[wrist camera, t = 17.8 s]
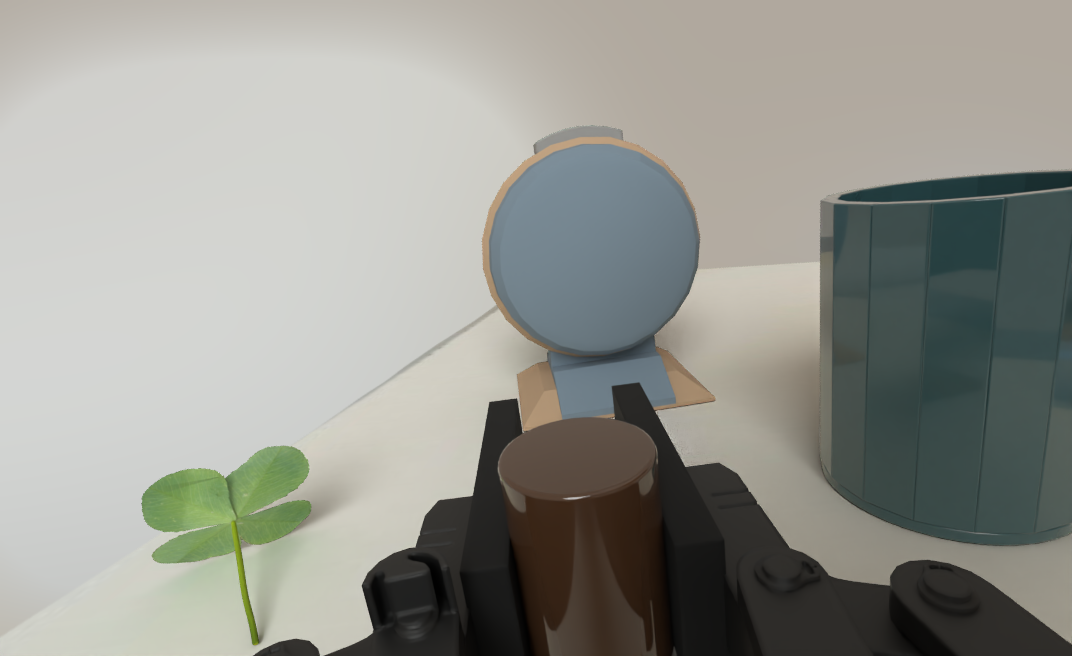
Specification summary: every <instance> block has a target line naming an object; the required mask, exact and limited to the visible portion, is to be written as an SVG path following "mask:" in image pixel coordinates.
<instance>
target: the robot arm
mask: <svg viewBox="0 0 1072 656" xmlns="http://www.w3.org/2000/svg"><path fill="white" fill-rule="evenodd" d="M612 395H613V405H614V414H615V419H616V420H620V421H624V422H627V423H630V424H633V425H635V426H637V427H639V428H640V429H642V430H644V431H645V432H646V433H647V434H648V435H649V436H650V437H651V438H652V440H653V442H654V443H655V445H656V448H657V453H658V465H659V476H660V488H661V500H662V512H663V523H664V535H665V547H666V559H667V570H668V582H669V594H670V606H671V618H672V629H673V641H674V648H675V651H676V654H677V656H730V655H731V656H1072V645H1071V644H1070V643H1069V642H1067V641H1066V640H1065V639H1063V638H1062V637H1061V636H1059V635H1058V634H1057V633H1055V632H1054V631H1053V630H1051V629H1050V628H1049V627H1047V626H1046V625H1045V624H1044V623H1042V622H1041V621H1040V620H1038V619H1037V618H1036V617H1034V616H1033V615H1032V614H1030V613H1029V612H1028V611H1026V610H1025V609H1024V608H1022V607H1021V606H1020V605H1018V604H1017V603H1016V602H1015V601H1013V600H1012V599H1011V598H1009V597H1008V596H1007V595H1005V594H1004V593H1003V592H1001V591H1000V590H999V589H997V588H996V587H995V586H993V585H992V584H991V583H989V582H988V581H986V580H984V579H983V578H981V577H979V576H978V575H976V574H974V573H973V572H971V571H968V570H965V569H963V568H960V567H957V566H954V565H952V564H949V563H943V562H937V561H931V560H918V561H908V562H906V563H904V564H901V565H899V566H897V567H896V568H895V570H894V571H893V573H892V574H891V576H890V586H887V585H878V584H869V583H861V582H852V581H847V580H842V579H837V578H834V577H831V576H829V575H828V573H827V572H826V571H825V570H824V569H823V568H822V566H821V565H820V564H819V563H818V562H817V561H815V560H814V559H812V558H811V557H809V556H807V555H806V554H804V553H802V552H799V551H796V550H793V549H790V548H789V546H788V545H787V543H786V542H785V541H784V539H783V538H782V536H781V535H780V534H779V532H778V531H777V529H776V528H775V526H774V525H773V524H772V522H771V521H770V519H769V518H768V517H767V515H766V514H765V512H764V511H763V509H762V508H761V507H760V505H759V504H757V501H756V500H755V498H754V497H753V495H752V494H751V492H749V491H748V488H747V487H746V485H745V484H744V483H743V481H742V480H741V478H740V477H739V475H738V474H737V473H735V472H733V471H732V470H730V469H728V468H727V467H725V466H724V465H722V464H720V463H713V464H705V465H698V466H690V467H685V466H684V464H683V462H682V460H681V458H680V456H679V455H678V453H677V451H676V449H675V447H674V445H673V443H672V442H671V440H670V438H669V436H668V434H667V432H666V431H665V429H664V427H663V425H662V423H661V421H660V419H659V418H658V416H657V414H656V412H655V410H654V408H653V407H652V405H651V403H650V401H649V399H648V397H647V395H646V394H645V392H644V390H643V388H642V386H641V384H640V383H639V382H637V383H630V384H622V385H615V386H612ZM521 434H523V432H522V426H521V420H520V413H519V407H518V401H517V399H509V400H502V401H494V402H489V408H488V414H487V419H486V425H485V431H484V436H483V442H482V448H481V453H480V459H479V465H478V470H477V476H476V481H475V487H474V493H473V496H469V497H462V498H454V499H446V500H439V501H438V502H437V503H436V504H435V505H434V506H433V508H432V509H431V510H430V511H429V512H428V513H427V514H426V515H425V518H424V521H423V524H422V528H421V531H420V536H419V537H418V541H417V544H416V548H408V549H405V550H402V551H399V552H396V553H393V554H392V555H390V556H388V557H387V558H385V559H383V560H382V561H380V562H379V563H378V564H377V565H376V566H375V567H374V568H373V569H372V570H371V571H369V572H368V574H367V576H366V578H365V580H364V582H363V584H362V588H363V592H364V596H365V600H366V603H367V607H368V611H369V614H370V618H371V622H372V626H373V629H374V630H373V634H371V635H370V636H368V637H367V638H365V639H363V640H361V641H359V642H357V643H355V644H353V645H351V646H348V647H345V648H343V649H340V650H338V651H335V652H333V653H330V654H327V655H325V656H530V650H529V644H528V639H527V633H526V627H525V622H524V616H523V610H522V605H521V599H520V593H519V587H518V582H517V576H516V570H515V565H514V559H513V553H512V548H511V542H510V536H509V531H508V525H507V520H506V514H505V508H504V502H503V497H502V491H501V485H500V480H499V474H498V462H499V458H500V455H501V453H502V452H503V450H504V449H505V447H506V446H507V445H508V444H509V443H510V442H511V441H512V440H514V439H515V438H516V437H518V436H519V435H521ZM254 656H320V654H319V651H318V648H317V647H315V646H314V645H313V644H312V643H311V642H310V641H306V640H300V639H292V640H287V641H281V642H278V643H276V644H273V645H271V646H269V647H267V648H265V649H262V650H260V651H259V652H258V653H256V654H255V655H254Z"/></svg>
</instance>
